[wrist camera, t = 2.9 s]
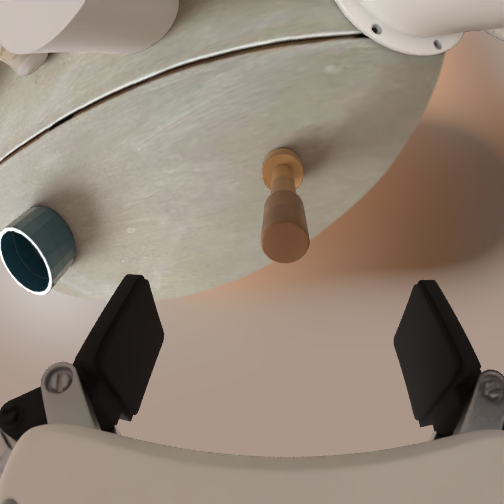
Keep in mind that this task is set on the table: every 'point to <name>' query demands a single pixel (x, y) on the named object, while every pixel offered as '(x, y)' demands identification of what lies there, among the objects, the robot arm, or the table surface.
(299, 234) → the wooden peg with base
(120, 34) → the white patterned cylinder
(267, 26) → the table surface
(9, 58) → the mug
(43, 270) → the bowl
